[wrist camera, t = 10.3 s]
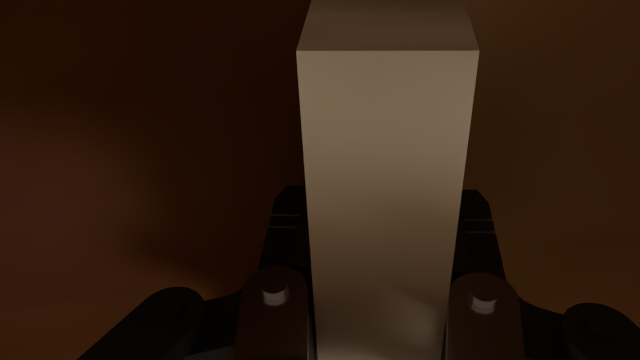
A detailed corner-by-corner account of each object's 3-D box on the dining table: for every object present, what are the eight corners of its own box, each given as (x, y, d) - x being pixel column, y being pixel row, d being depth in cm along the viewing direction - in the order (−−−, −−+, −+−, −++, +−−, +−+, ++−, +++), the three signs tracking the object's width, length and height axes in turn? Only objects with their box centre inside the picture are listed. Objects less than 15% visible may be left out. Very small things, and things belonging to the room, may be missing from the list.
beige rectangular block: (239, -50, 12) (165, 51, 8) (541, -56, 11) (624, 50, 7) (282, 312, 19) (253, 468, 15) (476, 321, 18) (502, 486, 14)
